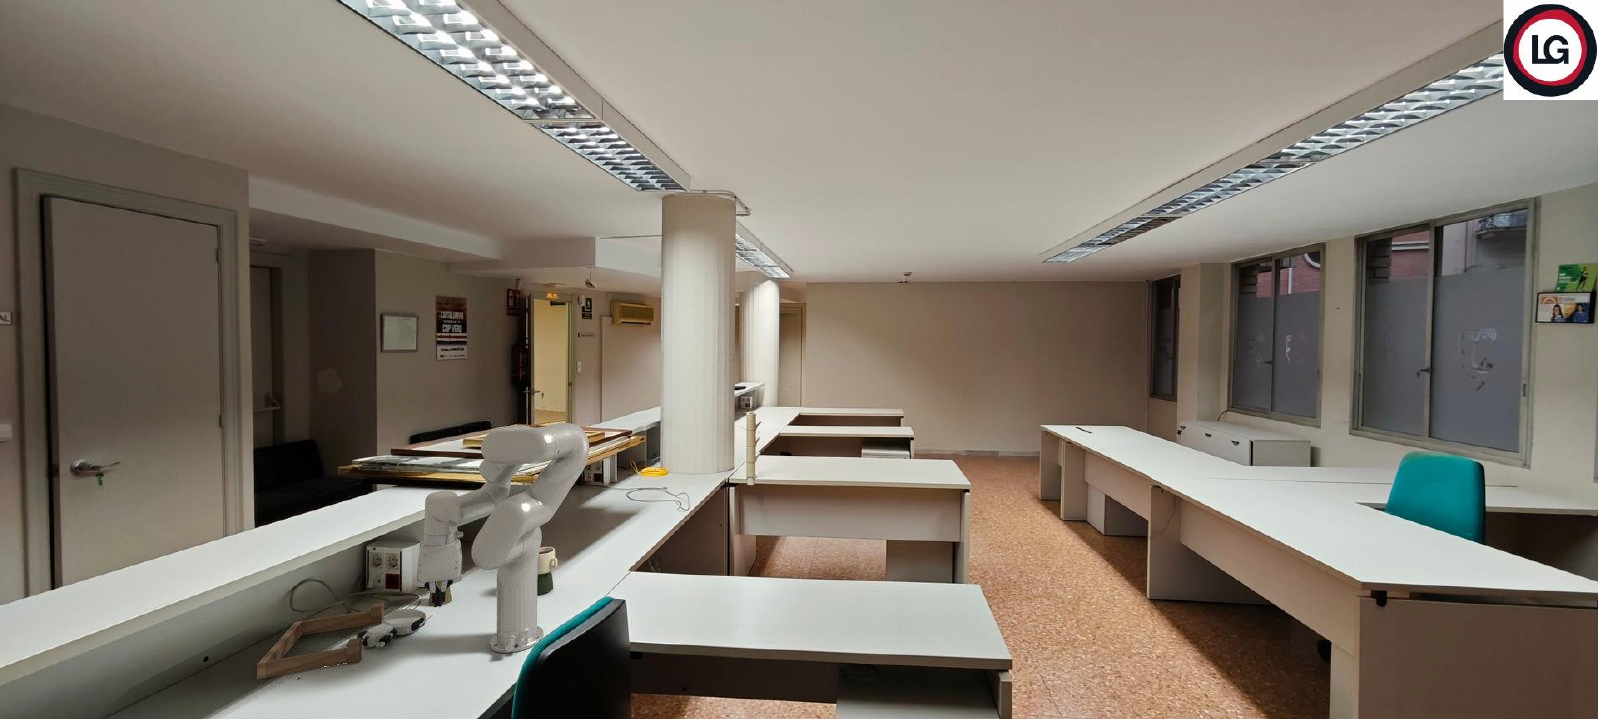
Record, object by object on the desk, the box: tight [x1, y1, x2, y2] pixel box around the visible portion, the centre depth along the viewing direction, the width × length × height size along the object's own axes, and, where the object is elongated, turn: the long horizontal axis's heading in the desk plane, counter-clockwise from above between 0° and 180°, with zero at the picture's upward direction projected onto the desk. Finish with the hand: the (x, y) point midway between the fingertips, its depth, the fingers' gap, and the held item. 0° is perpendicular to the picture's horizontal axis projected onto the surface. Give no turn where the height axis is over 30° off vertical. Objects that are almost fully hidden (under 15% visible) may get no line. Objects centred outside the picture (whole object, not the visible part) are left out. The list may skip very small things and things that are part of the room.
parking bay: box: [256, 602, 385, 680], centre depth 144 cm, size 23×19×5 cm
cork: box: [427, 581, 453, 607], centre depth 170 cm, size 6×6×11 cm
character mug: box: [537, 546, 558, 595], centre depth 178 cm, size 11×7×13 cm, turn 72°
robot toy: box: [349, 607, 434, 648], centre depth 150 cm, size 12×4×15 cm
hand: (438, 604), depth 154 cm, fingers closed
